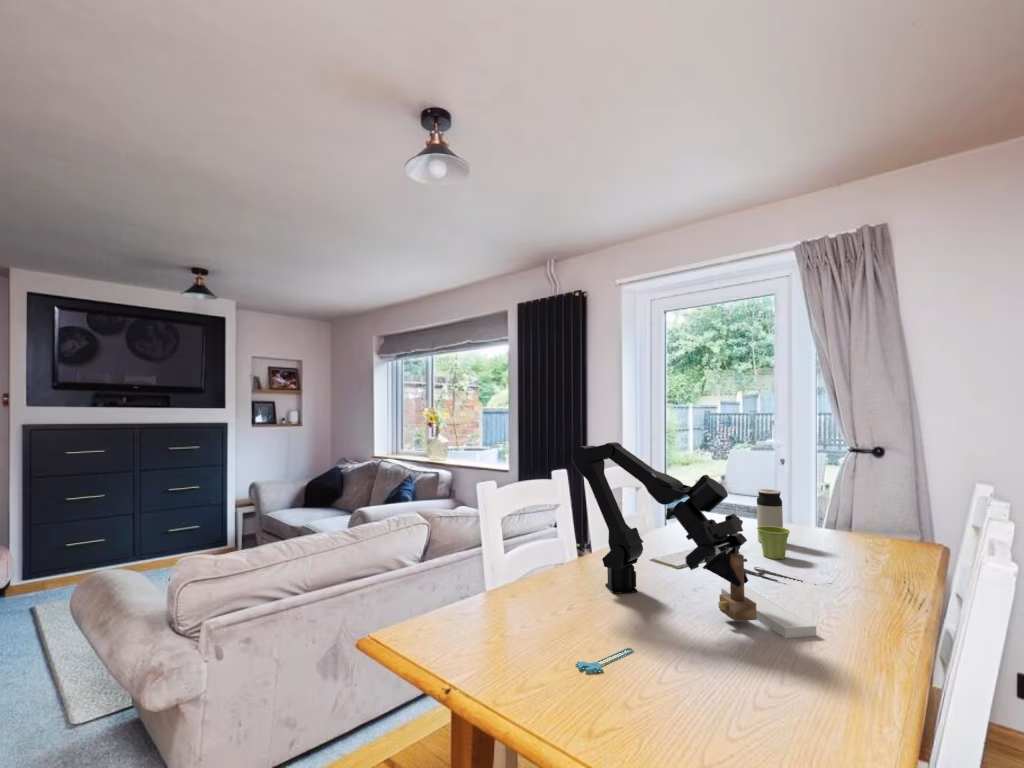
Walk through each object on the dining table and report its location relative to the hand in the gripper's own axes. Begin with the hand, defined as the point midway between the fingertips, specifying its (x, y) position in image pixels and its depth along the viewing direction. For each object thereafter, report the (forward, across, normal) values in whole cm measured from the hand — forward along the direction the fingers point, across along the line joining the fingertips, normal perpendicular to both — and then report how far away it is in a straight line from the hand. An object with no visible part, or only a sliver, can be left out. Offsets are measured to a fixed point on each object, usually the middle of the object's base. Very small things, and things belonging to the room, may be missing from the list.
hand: (743, 583), depth 113 cm
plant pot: (-6, +58, +18) cm, 61 cm away
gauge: (+4, 0, +6) cm, 7 cm away
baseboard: (-18, +41, +32) cm, 54 cm away
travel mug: (-11, +75, +24) cm, 80 cm away
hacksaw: (+2, +39, +11) cm, 41 cm away
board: (+6, +9, +6) cm, 13 cm away
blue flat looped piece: (0, -35, +14) cm, 37 cm away
